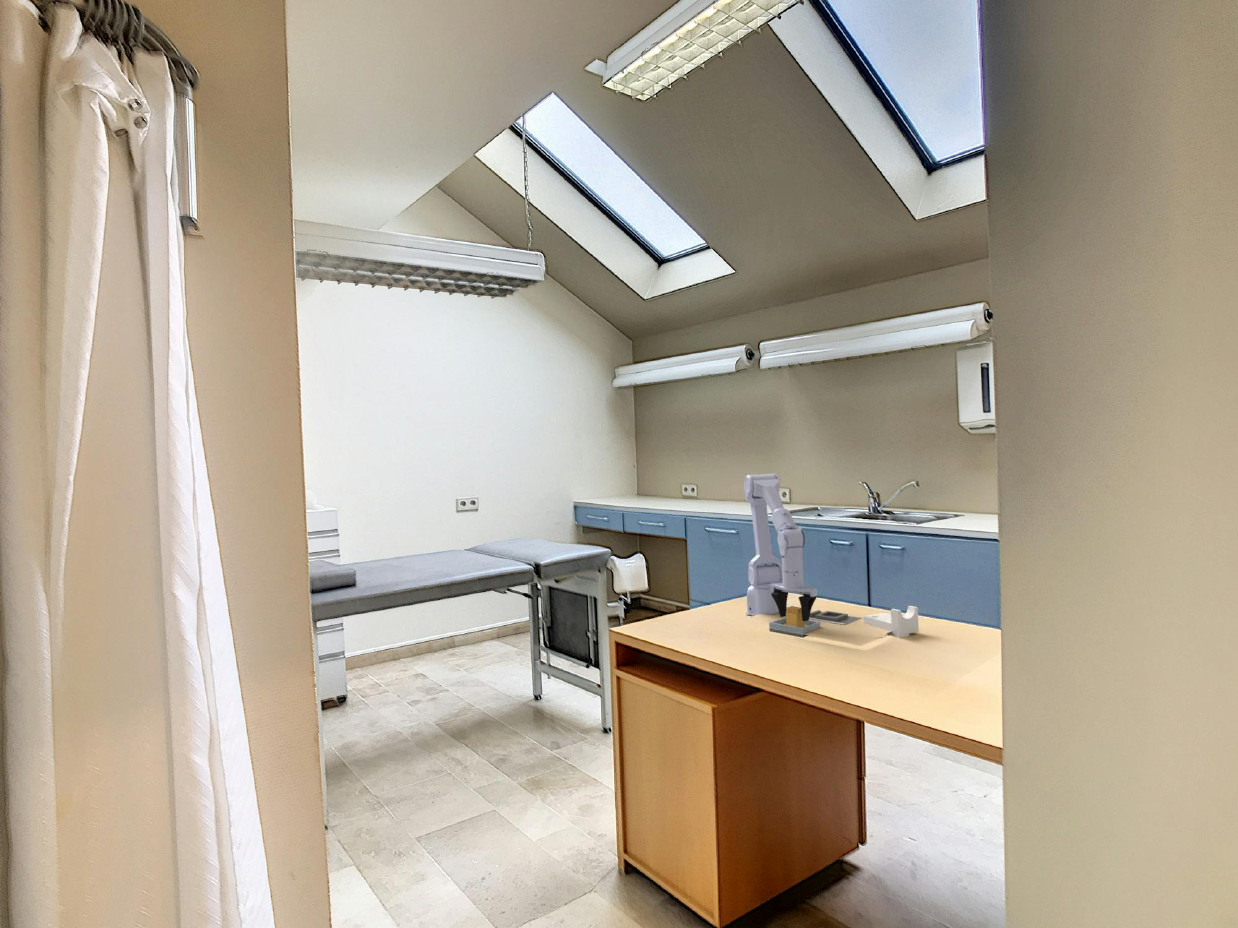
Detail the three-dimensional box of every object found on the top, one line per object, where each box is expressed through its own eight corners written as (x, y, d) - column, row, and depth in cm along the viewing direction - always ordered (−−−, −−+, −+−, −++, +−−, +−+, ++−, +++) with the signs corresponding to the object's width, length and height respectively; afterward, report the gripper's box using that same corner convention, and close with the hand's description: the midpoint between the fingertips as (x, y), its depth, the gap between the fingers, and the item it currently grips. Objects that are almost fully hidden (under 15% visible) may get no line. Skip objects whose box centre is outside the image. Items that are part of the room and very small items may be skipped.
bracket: (918, 634, 194) (917, 607, 193) (899, 638, 191) (898, 610, 191) (883, 624, 205) (882, 598, 205) (864, 628, 203) (863, 602, 202)
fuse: (786, 628, 202) (785, 608, 202) (794, 626, 205) (793, 605, 204) (797, 631, 200) (796, 609, 199) (804, 628, 202) (803, 607, 202)
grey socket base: (801, 621, 212) (801, 614, 212) (819, 615, 218) (819, 608, 218) (844, 629, 201) (844, 621, 201) (862, 622, 208) (862, 614, 208)
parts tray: (769, 631, 203) (769, 622, 203) (787, 624, 209) (786, 616, 209) (803, 637, 195) (802, 628, 195) (820, 630, 201) (820, 622, 201)
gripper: (822, 571, 198) (824, 619, 199) (780, 566, 210) (782, 612, 210) (808, 575, 194) (809, 624, 194) (765, 569, 205) (767, 616, 205)
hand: (794, 618), depth 202 cm, fingers open, 7 cm apart
